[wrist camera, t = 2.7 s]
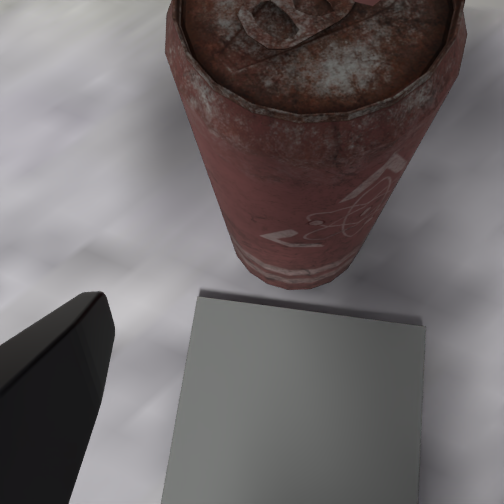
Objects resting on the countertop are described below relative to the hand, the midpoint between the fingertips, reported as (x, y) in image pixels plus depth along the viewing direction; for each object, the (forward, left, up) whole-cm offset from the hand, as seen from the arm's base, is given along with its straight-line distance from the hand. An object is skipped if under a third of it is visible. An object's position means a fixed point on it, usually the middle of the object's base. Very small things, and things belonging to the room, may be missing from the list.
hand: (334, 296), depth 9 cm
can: (+6, +1, -12) cm, 13 cm away
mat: (-3, 0, -12) cm, 12 cm away
